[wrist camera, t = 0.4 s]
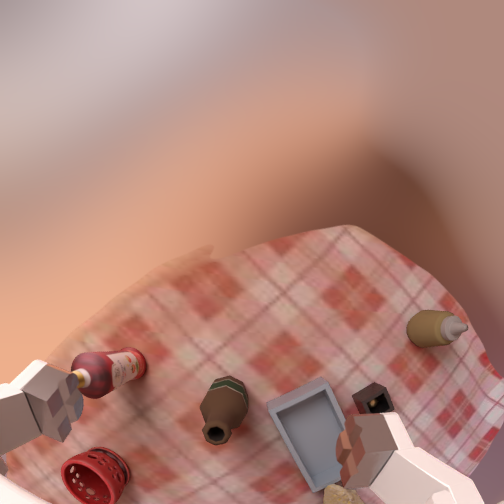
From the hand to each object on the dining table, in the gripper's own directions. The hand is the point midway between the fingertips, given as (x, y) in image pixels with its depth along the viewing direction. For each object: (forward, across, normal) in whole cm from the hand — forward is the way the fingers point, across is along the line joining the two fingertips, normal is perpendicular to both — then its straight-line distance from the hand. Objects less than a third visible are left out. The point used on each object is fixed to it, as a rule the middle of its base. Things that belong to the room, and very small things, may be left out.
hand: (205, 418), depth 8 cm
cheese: (+30, +25, -56) cm, 68 cm away
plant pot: (+30, -26, -57) cm, 70 cm away
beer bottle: (+41, 0, -35) cm, 54 cm away
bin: (+38, +18, -41) cm, 58 cm away
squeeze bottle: (+48, +39, -20) cm, 65 cm away
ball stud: (+41, +29, -34) cm, 61 cm away
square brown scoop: (+39, +31, -38) cm, 63 cm away
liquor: (+43, -21, -33) cm, 58 cm away
